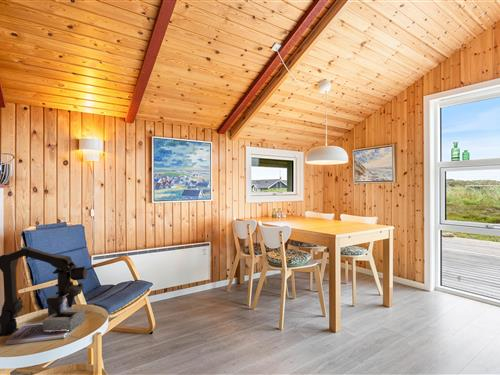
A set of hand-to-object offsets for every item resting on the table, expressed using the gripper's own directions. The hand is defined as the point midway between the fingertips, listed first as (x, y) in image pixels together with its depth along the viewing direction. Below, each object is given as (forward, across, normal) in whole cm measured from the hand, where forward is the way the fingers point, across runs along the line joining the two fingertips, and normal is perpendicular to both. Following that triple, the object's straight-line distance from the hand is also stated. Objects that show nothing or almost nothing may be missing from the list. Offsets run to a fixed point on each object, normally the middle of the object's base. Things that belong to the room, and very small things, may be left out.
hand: (64, 310), depth 149 cm
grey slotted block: (+8, 0, 0) cm, 8 cm away
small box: (+8, +14, +12) cm, 20 cm away
